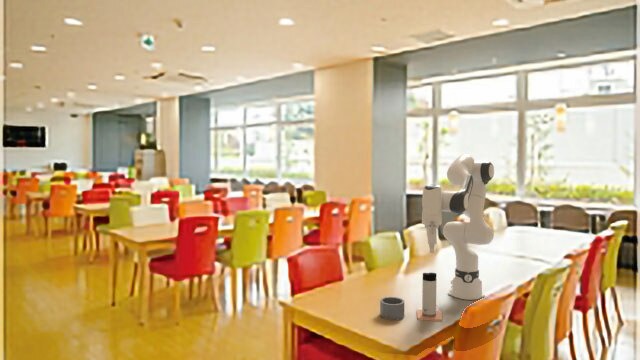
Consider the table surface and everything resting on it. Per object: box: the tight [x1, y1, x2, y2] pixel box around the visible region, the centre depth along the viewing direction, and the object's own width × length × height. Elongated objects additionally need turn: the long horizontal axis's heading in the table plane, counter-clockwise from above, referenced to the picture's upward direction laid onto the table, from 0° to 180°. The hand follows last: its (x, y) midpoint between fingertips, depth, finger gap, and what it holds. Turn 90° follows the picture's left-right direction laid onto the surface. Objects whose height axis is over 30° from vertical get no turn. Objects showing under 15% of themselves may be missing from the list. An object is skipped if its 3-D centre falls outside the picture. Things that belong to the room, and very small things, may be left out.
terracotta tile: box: [416, 309, 443, 322], centre depth 213 cm, size 11×11×1 cm
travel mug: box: [421, 272, 437, 317], centre depth 212 cm, size 6×7×20 cm
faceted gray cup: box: [379, 296, 405, 321], centre depth 214 cm, size 11×11×7 cm
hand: (431, 250), depth 211 cm, fingers open, 8 cm apart
